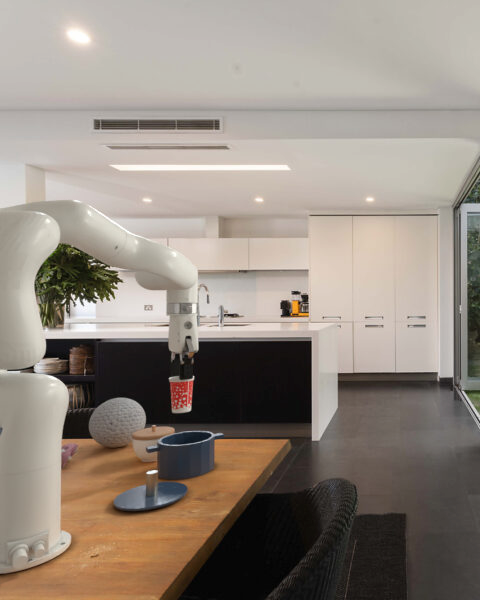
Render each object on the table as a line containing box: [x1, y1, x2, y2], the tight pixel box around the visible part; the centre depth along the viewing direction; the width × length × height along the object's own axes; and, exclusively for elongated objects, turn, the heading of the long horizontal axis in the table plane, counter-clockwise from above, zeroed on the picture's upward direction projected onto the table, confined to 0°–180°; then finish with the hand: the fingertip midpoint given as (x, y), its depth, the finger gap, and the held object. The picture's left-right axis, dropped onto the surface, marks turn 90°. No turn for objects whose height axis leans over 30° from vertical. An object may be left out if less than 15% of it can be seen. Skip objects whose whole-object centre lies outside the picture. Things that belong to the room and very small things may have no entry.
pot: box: [146, 430, 225, 481], centre depth 119 cm, size 14×19×8 cm
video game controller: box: [61, 442, 79, 469], centre depth 122 cm, size 10×5×7 cm, turn 22°
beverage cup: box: [168, 375, 195, 414], centre depth 119 cm, size 6×6×14 cm
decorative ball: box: [88, 397, 147, 449], centre depth 140 cm, size 15×15×15 cm
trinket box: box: [131, 424, 176, 463], centre depth 128 cm, size 11×11×9 cm
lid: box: [112, 469, 189, 512], centre depth 101 cm, size 15×15×6 cm
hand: (181, 377), depth 119 cm, fingers closed on beverage cup, 6 cm apart
